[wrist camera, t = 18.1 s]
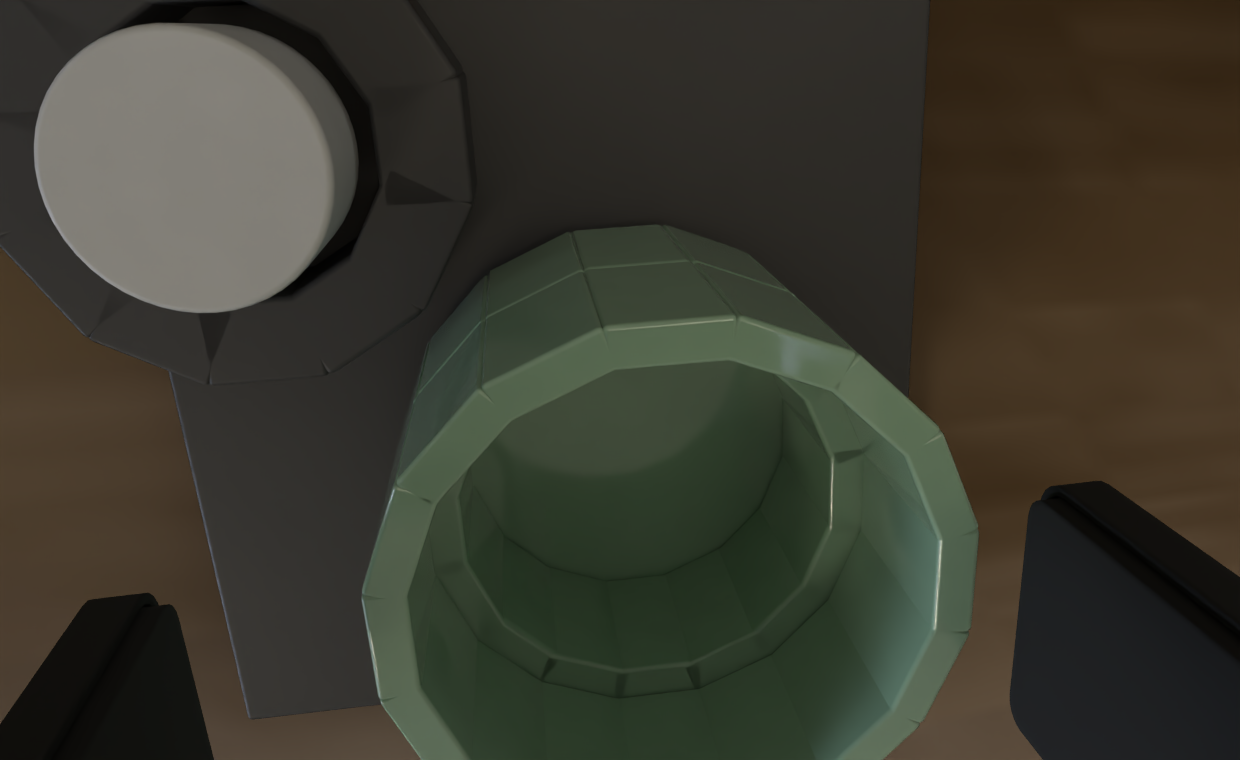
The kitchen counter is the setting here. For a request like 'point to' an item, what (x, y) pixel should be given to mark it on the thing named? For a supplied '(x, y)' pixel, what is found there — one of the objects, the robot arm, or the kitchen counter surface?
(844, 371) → the green cup
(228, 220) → the power button
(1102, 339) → the kitchen counter surface
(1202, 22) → the kitchen counter surface
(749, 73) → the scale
